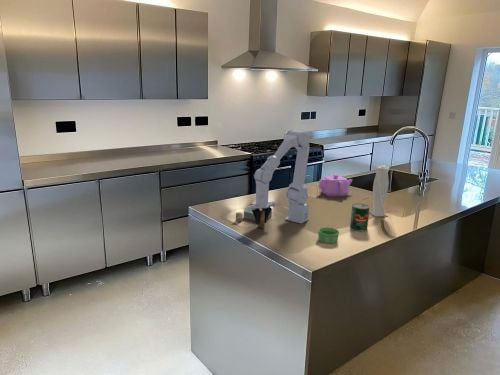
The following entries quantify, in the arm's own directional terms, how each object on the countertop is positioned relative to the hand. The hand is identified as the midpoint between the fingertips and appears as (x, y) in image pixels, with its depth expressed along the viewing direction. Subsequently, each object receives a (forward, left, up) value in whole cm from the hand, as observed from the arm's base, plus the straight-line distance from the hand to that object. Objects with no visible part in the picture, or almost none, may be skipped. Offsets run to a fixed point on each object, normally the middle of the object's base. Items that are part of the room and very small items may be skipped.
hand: (261, 223), depth 173 cm
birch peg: (+13, 0, -2) cm, 13 cm away
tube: (+20, -26, -2) cm, 33 cm away
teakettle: (-2, -78, -2) cm, 78 cm away
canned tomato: (-36, -29, -2) cm, 46 cm away
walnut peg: (0, 0, -2) cm, 2 cm away
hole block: (+9, -10, -2) cm, 14 cm away
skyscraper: (-37, -54, -2) cm, 65 cm away
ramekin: (-31, -6, -2) cm, 32 cm away
